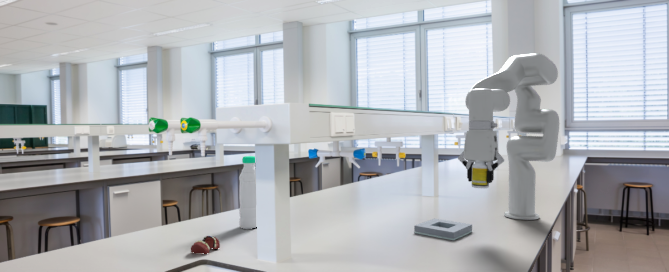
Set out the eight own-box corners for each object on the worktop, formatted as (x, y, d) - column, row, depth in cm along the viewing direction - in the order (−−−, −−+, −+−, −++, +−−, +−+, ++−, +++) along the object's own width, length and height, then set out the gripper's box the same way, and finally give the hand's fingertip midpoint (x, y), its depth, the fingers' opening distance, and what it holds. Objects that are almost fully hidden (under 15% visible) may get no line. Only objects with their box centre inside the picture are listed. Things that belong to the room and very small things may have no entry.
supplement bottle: (490, 188, 138) (490, 158, 137) (472, 188, 139) (473, 158, 138) (487, 186, 143) (487, 157, 143) (470, 186, 144) (470, 156, 144)
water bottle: (235, 228, 149) (234, 156, 149) (246, 224, 156) (246, 155, 155) (252, 230, 147) (252, 157, 146) (263, 225, 153) (263, 155, 153)
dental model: (188, 239, 120) (206, 233, 128) (187, 254, 120) (206, 247, 128) (204, 242, 118) (222, 235, 126) (204, 257, 118) (221, 249, 126)
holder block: (434, 225, 154) (434, 218, 154) (472, 231, 145) (472, 224, 145) (414, 232, 143) (414, 225, 143) (453, 240, 134) (453, 232, 134)
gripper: (511, 126, 138) (510, 183, 138) (460, 126, 149) (459, 178, 149) (503, 126, 132) (503, 185, 133) (451, 126, 143) (450, 180, 143)
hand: (480, 181), depth 141 cm, fingers closed on supplement bottle, 5 cm apart
